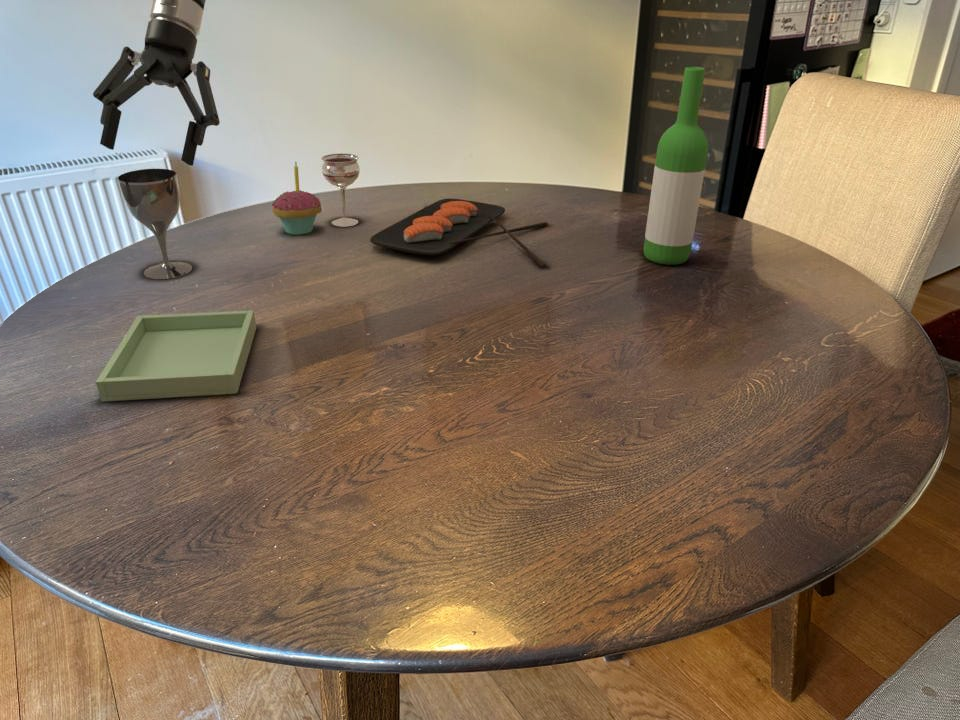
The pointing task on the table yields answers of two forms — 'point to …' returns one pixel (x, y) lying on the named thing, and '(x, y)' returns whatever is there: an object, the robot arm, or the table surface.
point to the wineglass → (341, 178)
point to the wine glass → (155, 211)
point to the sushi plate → (445, 228)
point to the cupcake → (297, 209)
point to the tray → (179, 356)
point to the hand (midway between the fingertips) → (146, 155)
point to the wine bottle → (678, 179)
